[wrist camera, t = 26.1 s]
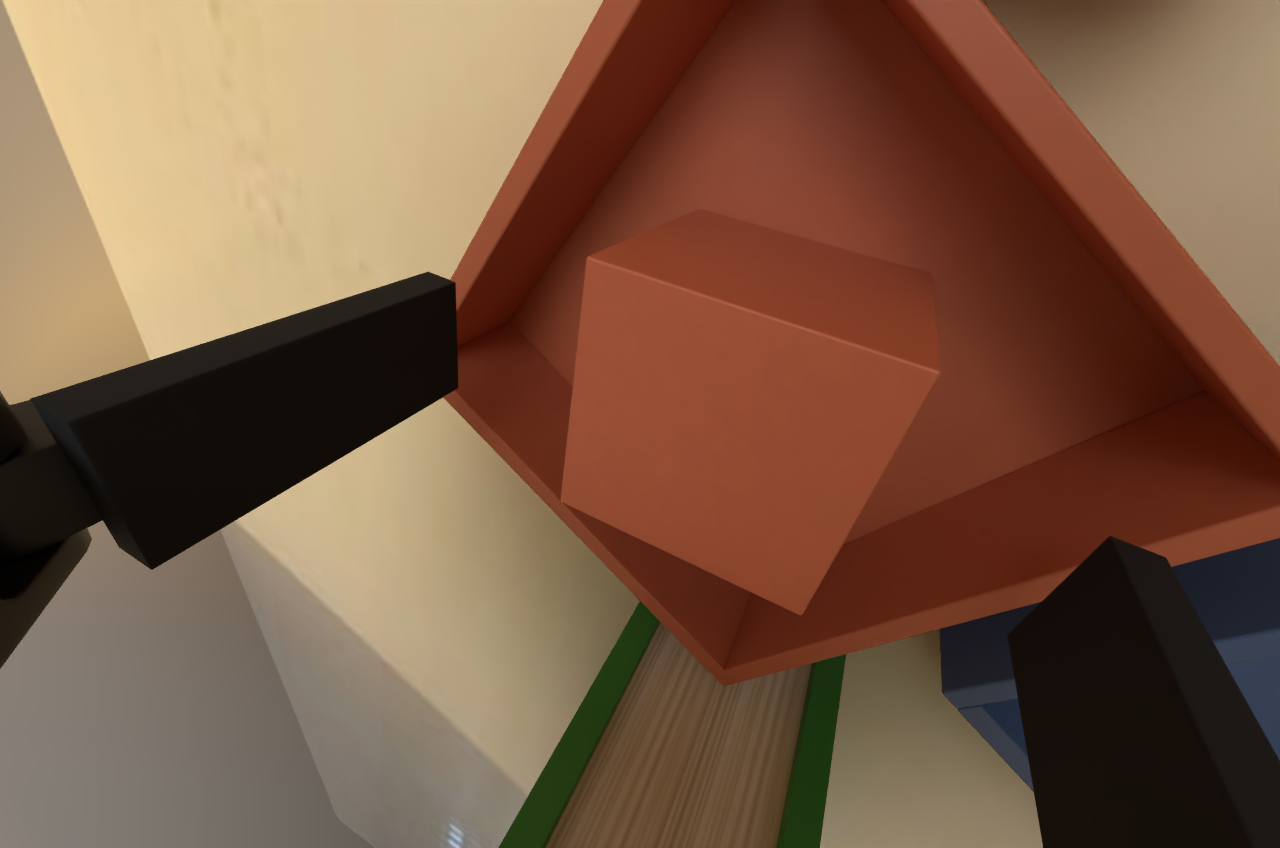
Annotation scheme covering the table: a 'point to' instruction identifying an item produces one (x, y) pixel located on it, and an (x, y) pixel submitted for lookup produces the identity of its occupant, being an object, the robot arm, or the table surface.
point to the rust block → (743, 395)
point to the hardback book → (686, 755)
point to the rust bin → (905, 235)
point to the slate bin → (1224, 600)
